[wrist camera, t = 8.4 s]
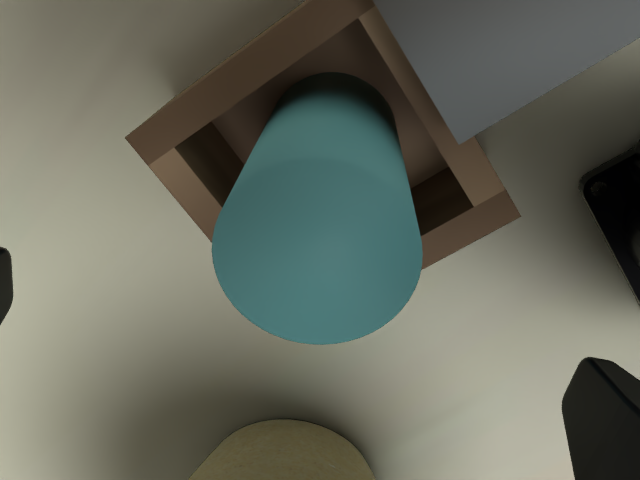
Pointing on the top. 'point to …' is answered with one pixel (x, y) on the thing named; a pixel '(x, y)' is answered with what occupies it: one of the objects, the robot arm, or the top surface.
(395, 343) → the top surface
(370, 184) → the peg
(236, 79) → the brown wooden open box
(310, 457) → the plant pot
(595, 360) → the robot arm
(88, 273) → the top surface
